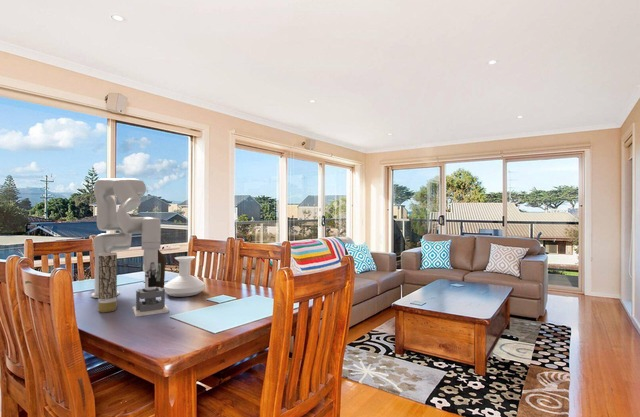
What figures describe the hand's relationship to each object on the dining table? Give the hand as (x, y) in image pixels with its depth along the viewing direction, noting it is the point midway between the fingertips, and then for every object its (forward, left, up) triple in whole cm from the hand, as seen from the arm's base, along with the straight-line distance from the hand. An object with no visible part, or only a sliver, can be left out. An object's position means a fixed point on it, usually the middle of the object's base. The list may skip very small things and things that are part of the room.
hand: (150, 284), depth 157 cm
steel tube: (0, 0, -10) cm, 10 cm away
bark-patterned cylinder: (-9, -16, -12) cm, 22 cm away
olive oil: (-47, +8, -12) cm, 49 cm away
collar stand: (0, 0, -11) cm, 11 cm away
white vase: (-23, +19, -12) cm, 32 cm away
